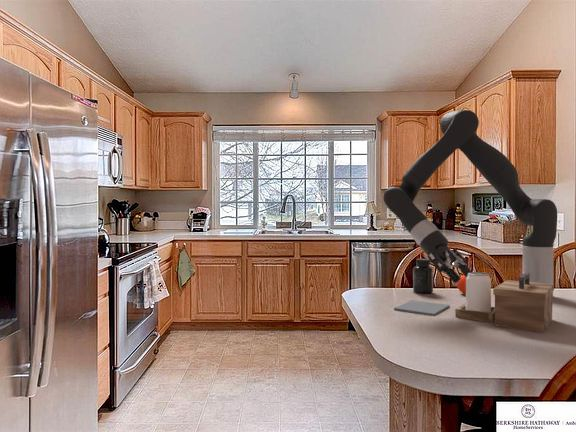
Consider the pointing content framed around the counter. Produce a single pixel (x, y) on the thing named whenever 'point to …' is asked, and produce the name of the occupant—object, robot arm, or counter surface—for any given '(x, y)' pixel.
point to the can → (478, 292)
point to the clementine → (462, 284)
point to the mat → (422, 307)
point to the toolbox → (517, 306)
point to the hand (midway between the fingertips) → (465, 279)
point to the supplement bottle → (423, 277)
